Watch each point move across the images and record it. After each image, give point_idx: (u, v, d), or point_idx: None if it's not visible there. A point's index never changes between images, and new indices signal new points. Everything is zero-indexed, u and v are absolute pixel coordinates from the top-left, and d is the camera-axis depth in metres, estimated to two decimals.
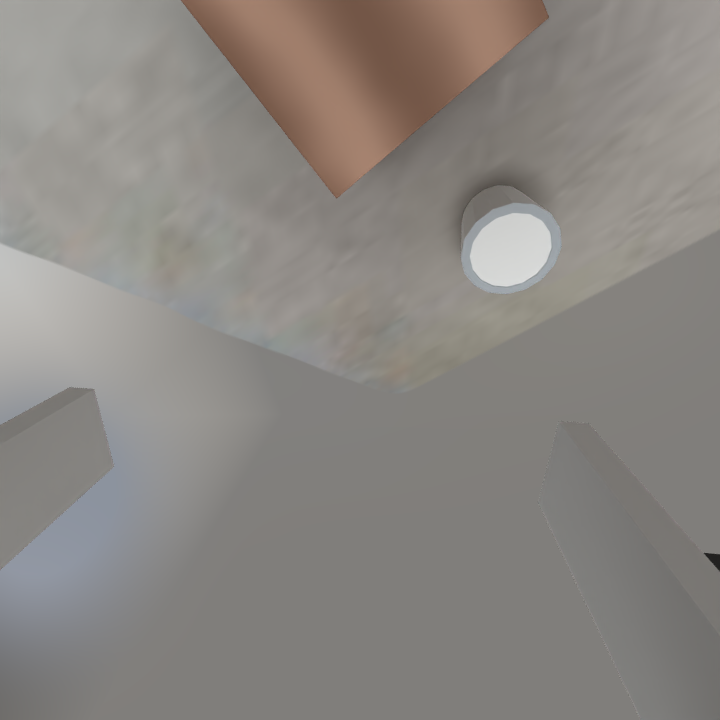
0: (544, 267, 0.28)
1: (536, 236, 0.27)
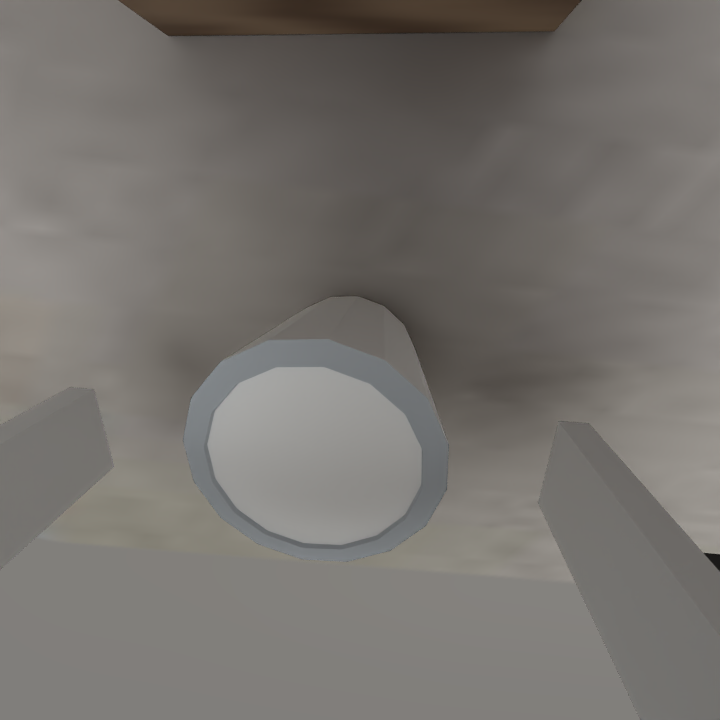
0: (366, 543, 0.11)
1: (389, 471, 0.10)
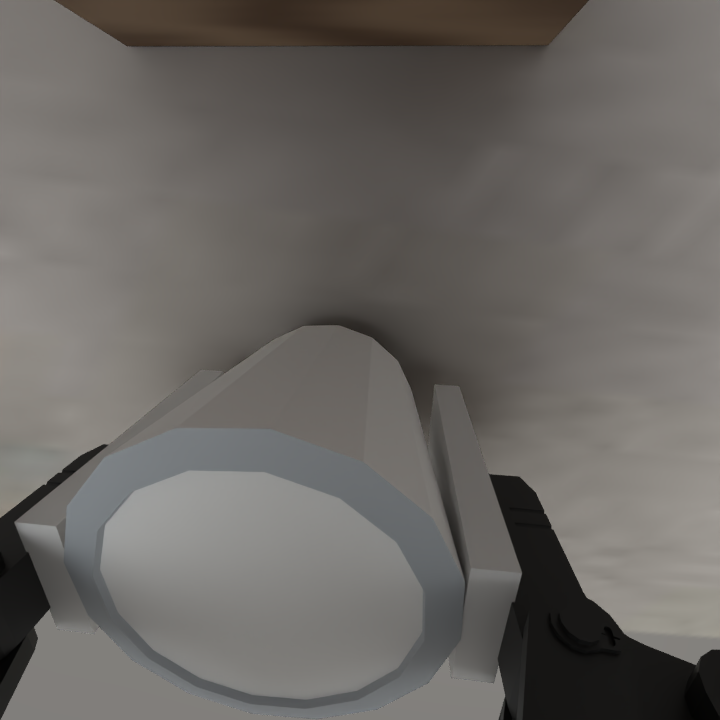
0: (342, 698, 0.07)
1: (374, 612, 0.06)
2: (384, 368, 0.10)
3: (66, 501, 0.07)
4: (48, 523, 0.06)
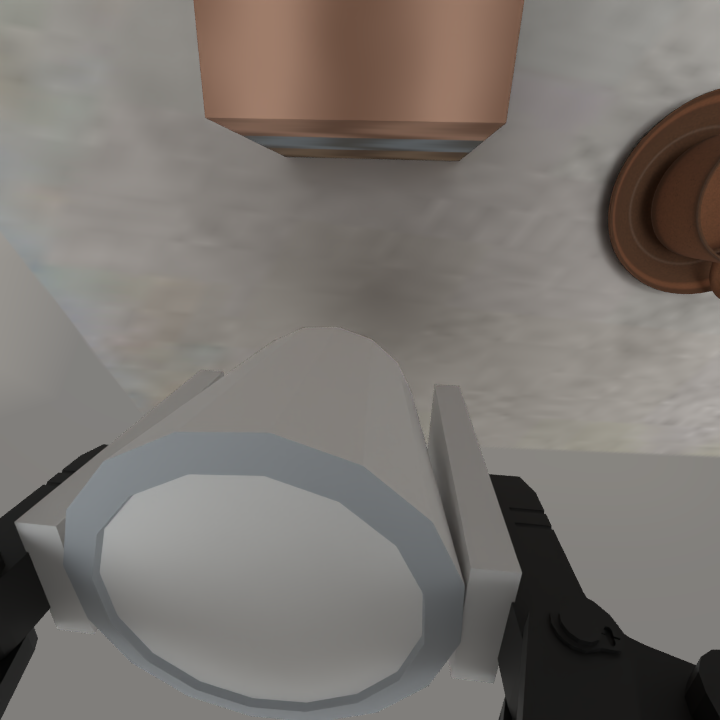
0: (341, 702, 0.07)
1: (374, 616, 0.06)
2: (384, 370, 0.10)
3: (66, 501, 0.07)
4: (48, 523, 0.06)
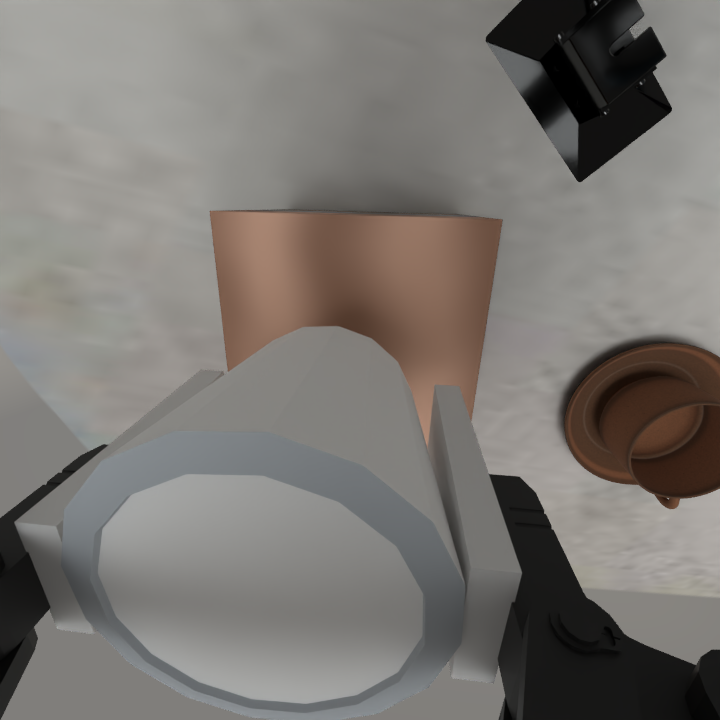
0: (342, 703, 0.07)
1: (374, 617, 0.06)
2: (384, 369, 0.10)
3: (66, 501, 0.07)
4: (48, 523, 0.06)
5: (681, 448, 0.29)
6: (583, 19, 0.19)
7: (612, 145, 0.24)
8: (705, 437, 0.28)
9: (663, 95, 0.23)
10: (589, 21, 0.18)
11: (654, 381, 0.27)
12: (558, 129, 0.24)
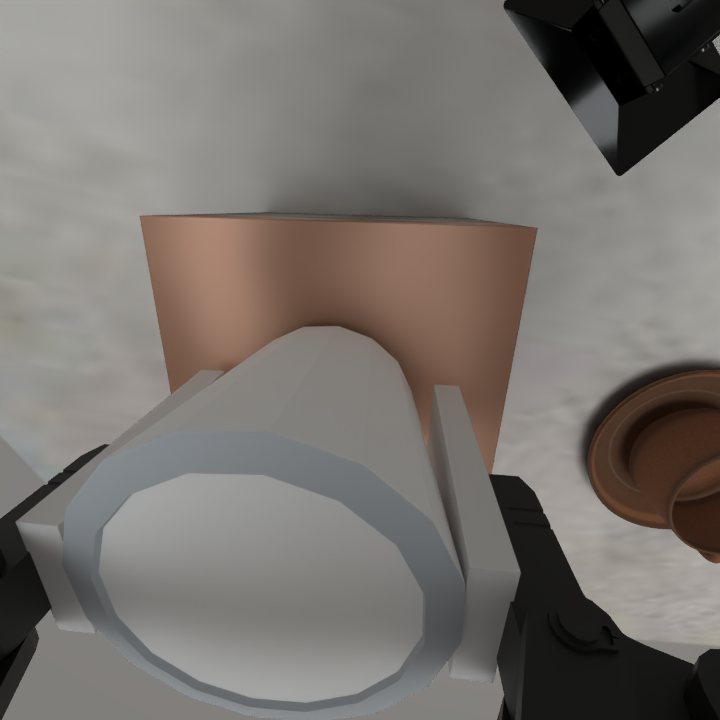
0: (342, 702, 0.07)
1: (374, 616, 0.06)
2: (384, 369, 0.10)
3: (67, 501, 0.07)
4: (49, 523, 0.06)
5: None
6: None
7: (660, 130, 0.20)
8: None
9: None
10: None
11: (696, 415, 0.23)
12: (593, 113, 0.20)
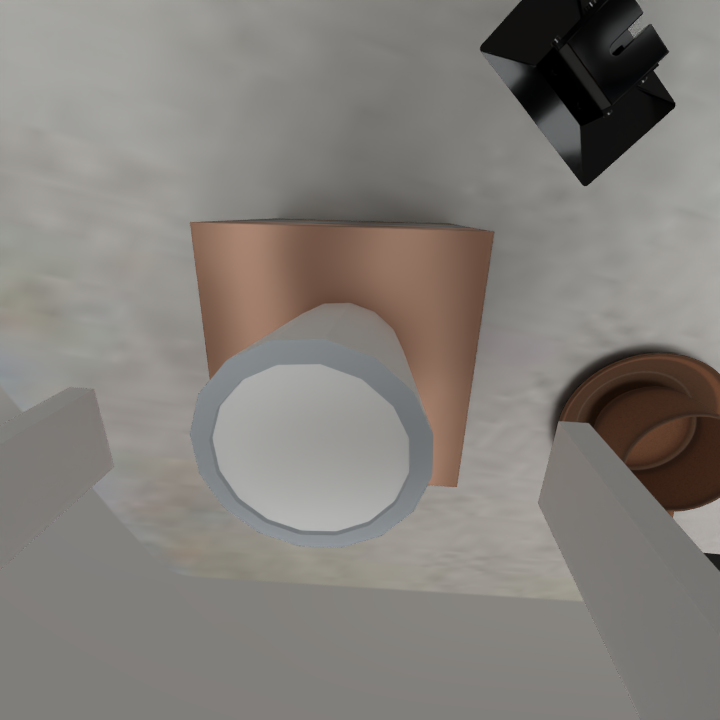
0: (359, 528, 0.11)
1: (380, 460, 0.10)
2: (384, 329, 0.14)
3: None
4: None
5: (674, 459, 0.28)
6: (580, 21, 0.19)
7: (616, 144, 0.23)
8: (698, 448, 0.27)
9: (665, 91, 0.22)
10: (587, 23, 0.18)
11: (646, 391, 0.26)
12: (559, 132, 0.23)
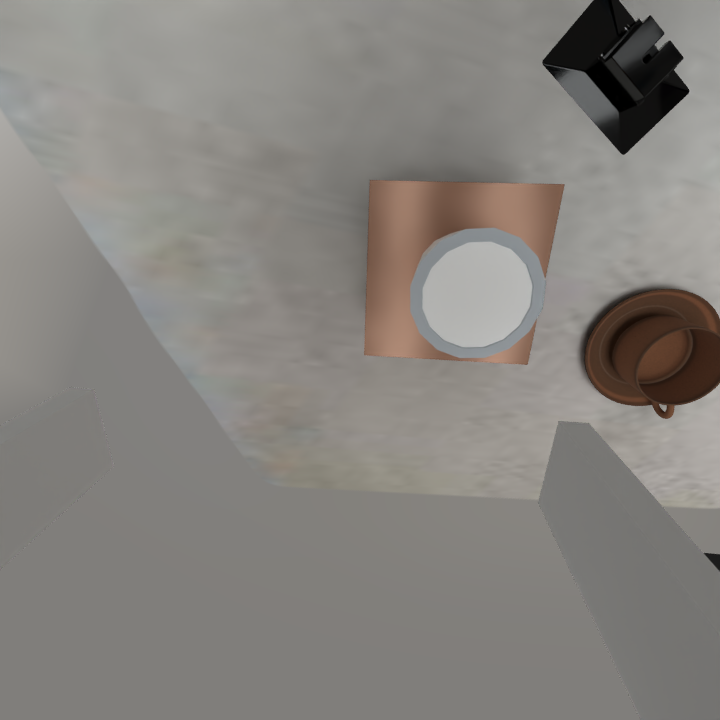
0: (496, 344, 0.20)
1: (515, 299, 0.20)
2: None
3: None
4: None
5: (675, 374, 0.37)
6: (619, 41, 0.27)
7: (646, 123, 0.32)
8: (694, 363, 0.36)
9: (681, 81, 0.31)
10: (625, 43, 0.27)
11: (655, 318, 0.35)
12: (603, 118, 0.32)
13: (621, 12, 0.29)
